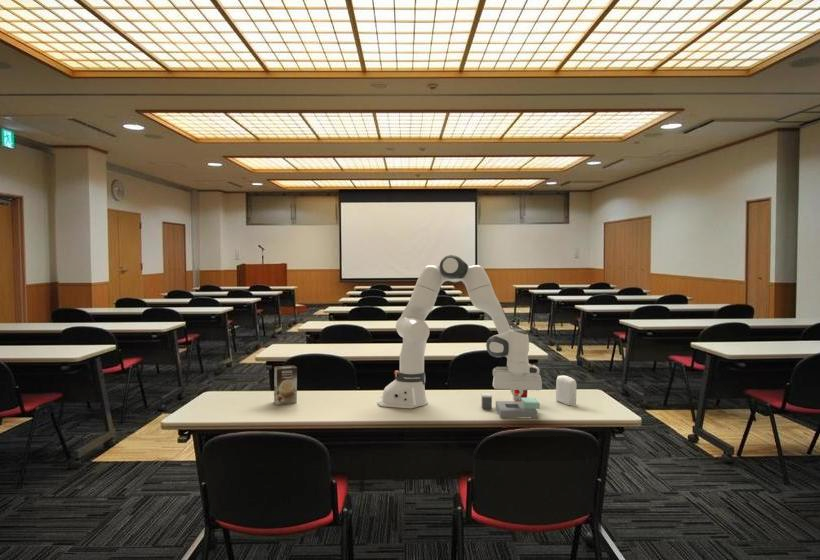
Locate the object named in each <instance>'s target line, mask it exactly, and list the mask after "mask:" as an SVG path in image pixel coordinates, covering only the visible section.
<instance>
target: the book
mask: <svg viewBox="0 0 820 560" xmlns="http://www.w3.org/2000/svg"><path fill="white" fill-rule="evenodd" d="M555 382H556V383H555V384H556V385H555V387H556V388H555V400H556V401H557V402H559V403H562V404H564V405H566V406H569V405H570V407H575V406H576V405H577V385H578V384H577V381H576V379H574V378H573V377H571V376H568V375H557V378H556V381H555Z"/></svg>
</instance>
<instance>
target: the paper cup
mask: <svg viewBox="0 0 820 560" xmlns="http://www.w3.org/2000/svg"><path fill="white" fill-rule="evenodd" d="M528 391H529V390H523V394H522V395H521V397H520V400H514V401H521V398H528ZM513 393H514V395H519V393H520V391H519V390H515V392H513Z"/></svg>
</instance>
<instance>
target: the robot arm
mask: <svg viewBox="0 0 820 560" xmlns="http://www.w3.org/2000/svg"><path fill="white" fill-rule="evenodd" d="M460 282H462V283H463V285H464V286H465V289H466V291H467V294H468V297H469V300H470V302H471V304H472V305H473V307H474V308H476V309H478V310H480V311H482V312H485V314H487V315H488V316H489V317H491V319H492V322H493V324H494V326H495V328H496V331H497V333H498V334H494V335H492V336H489V338H488V339H487V340H486V345H485V347H486V350H487V352H488V354H489V355H490V356H491V357H494V358H502V357H503V358H506V366H496V367H494V368H493V369H492V376H493V378H492V387H493V388H494V389H495V390H510V393H511V395H512V400H513V401H515V400H520V397H521V395H522V394H523V390H528V391H541V390H543V389H542V387H543V382H542V381H543V380H542V376H541V374H540V371H541V370H540V367H538V366H537V365H535V364H532V363H529V353H530V340H529V334H528V332H527V331H526V330H525V329H521V328H518V327H512V325H511V324H510V322H509V319H508V317H507V315H506V313H505V310H504V308H503V306H502V304H501V303H500V300H499V299H498V297H497V296H496V293H495V291H494V288H493V285H492V282H491V280H490V277H489V276H488V273H487V272H486V270H485V269H484V267H483V266H482V265H479V264H474V265H469V266H468V264H467V263H466V262H465V261H464V260H463V259H462V258H461V257H459V256H457V255H453V254H448V255H446V256H444V257H443V258H442V259H441V260H440V263H439V265H434V264H429V265H425V266H424V268H423V269H422V271H421V273H420V274H419V276H418V278H417V280H416V284H415V286H414V288H413V291H412V293H411V295H410V296H411V297H410V298H409V301H408V303H407V304H406V307H405V308H404V309H403V311H402V313H401V316H400V317H399V318H398V319H397V320H396V323H395V330H396V333H397V334H398V335H399V336H400V337H401V338H402V346H401V350H400V353H399V370H394V380H393V381H391V382H390V383H388V384H387V385H386V386H385V387H384V388H383V391H382V395H381V396H380V397H379V398H378V399H377V405H378V406H379V407H382V408H384V407H385V408H399V409H401V408H402V409H414V408H415V409H416V408H417V407H423V406H425V405H427V404H428V400H427V394H426V389H425V386H426V385H425V384H426V372H425V352H426V347H427V341H428V338H429V337H430V331H431V329H430V328H429V326H428V324H427V323H426V321H425V320H426V319H427V317H428V315H429V314H430V313H431V311H432V310H433V309H434V306H435V303H436V301H437V298H438V295H439V293H440V291H441V287H442V285H443V284H444V283H449V284H451V283H452V284H456V283H457V284H458V283H460ZM515 390H519V391H520V393H519V395H514V392H515Z"/></svg>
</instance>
